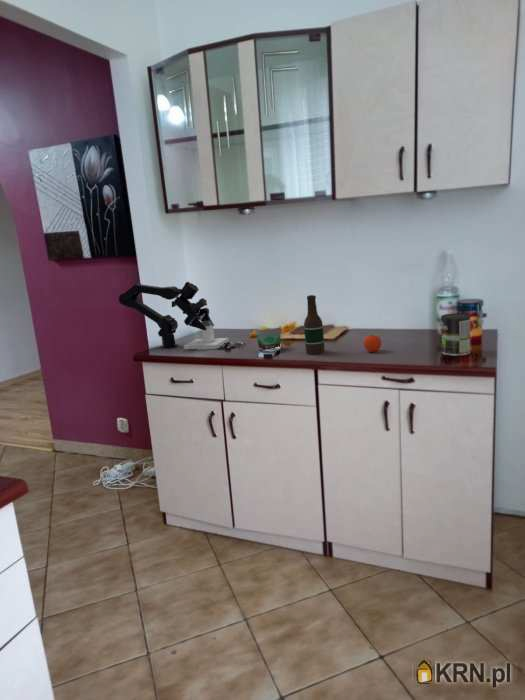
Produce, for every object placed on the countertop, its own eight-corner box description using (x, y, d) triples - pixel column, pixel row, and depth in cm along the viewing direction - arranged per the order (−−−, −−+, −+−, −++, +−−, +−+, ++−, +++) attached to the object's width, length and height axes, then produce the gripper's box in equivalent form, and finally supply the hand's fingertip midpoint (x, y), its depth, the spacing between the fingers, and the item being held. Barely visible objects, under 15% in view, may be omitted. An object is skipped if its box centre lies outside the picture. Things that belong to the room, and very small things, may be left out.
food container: (260, 354, 226) (257, 331, 224) (256, 351, 232) (254, 329, 230) (287, 350, 229) (285, 327, 227) (282, 347, 235) (280, 325, 233)
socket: (184, 349, 250) (183, 345, 250) (197, 342, 264) (196, 338, 264) (217, 348, 245) (216, 344, 245) (228, 341, 259) (228, 337, 259)
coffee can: (445, 356, 193) (444, 319, 190) (439, 350, 203) (438, 314, 200) (474, 354, 192) (473, 316, 189) (466, 348, 202) (466, 312, 199)
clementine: (376, 348, 216) (375, 331, 215) (387, 351, 210) (386, 333, 208) (360, 351, 213) (359, 334, 211) (371, 354, 207) (370, 337, 205)
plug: (204, 346, 253) (201, 322, 250) (207, 344, 257) (204, 320, 254) (211, 346, 252) (208, 322, 249) (214, 344, 255) (212, 320, 253)
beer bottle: (305, 351, 223) (301, 295, 218) (323, 349, 223) (319, 293, 217) (306, 355, 215) (301, 297, 210) (325, 353, 215) (321, 295, 210)
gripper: (187, 296, 241) (211, 319, 240) (203, 291, 259) (226, 312, 258) (174, 314, 246) (198, 336, 244) (190, 307, 263) (213, 328, 262)
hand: (209, 327), depth 252 cm, fingers open, 9 cm apart
